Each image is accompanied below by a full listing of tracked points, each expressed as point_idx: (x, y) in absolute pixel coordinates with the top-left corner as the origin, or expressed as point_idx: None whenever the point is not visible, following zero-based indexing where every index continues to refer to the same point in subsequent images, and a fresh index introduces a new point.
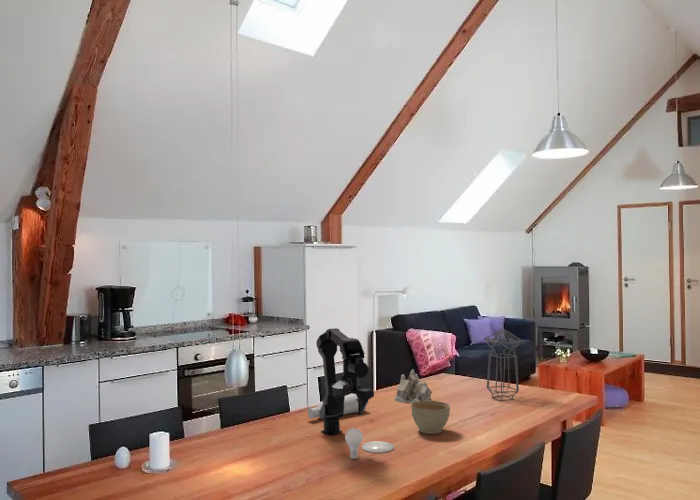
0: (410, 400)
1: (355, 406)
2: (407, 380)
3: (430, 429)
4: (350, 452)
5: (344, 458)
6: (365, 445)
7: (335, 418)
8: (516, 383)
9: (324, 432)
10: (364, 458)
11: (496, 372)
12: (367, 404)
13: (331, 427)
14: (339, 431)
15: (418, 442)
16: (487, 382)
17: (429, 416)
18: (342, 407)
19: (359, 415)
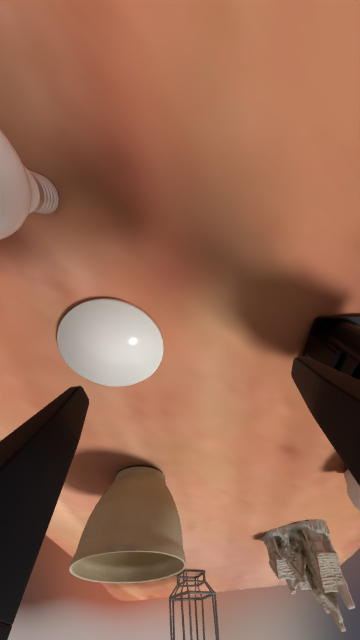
0: (293, 530)
1: None
2: (329, 591)
3: (114, 482)
4: (30, 171)
5: (75, 165)
6: (142, 326)
7: (358, 376)
8: (170, 620)
9: (350, 317)
10: (34, 238)
11: None
12: (348, 494)
13: (339, 339)
14: (305, 351)
15: (90, 431)
16: (213, 608)
17: (93, 527)
18: (312, 399)
19: (71, 387)
